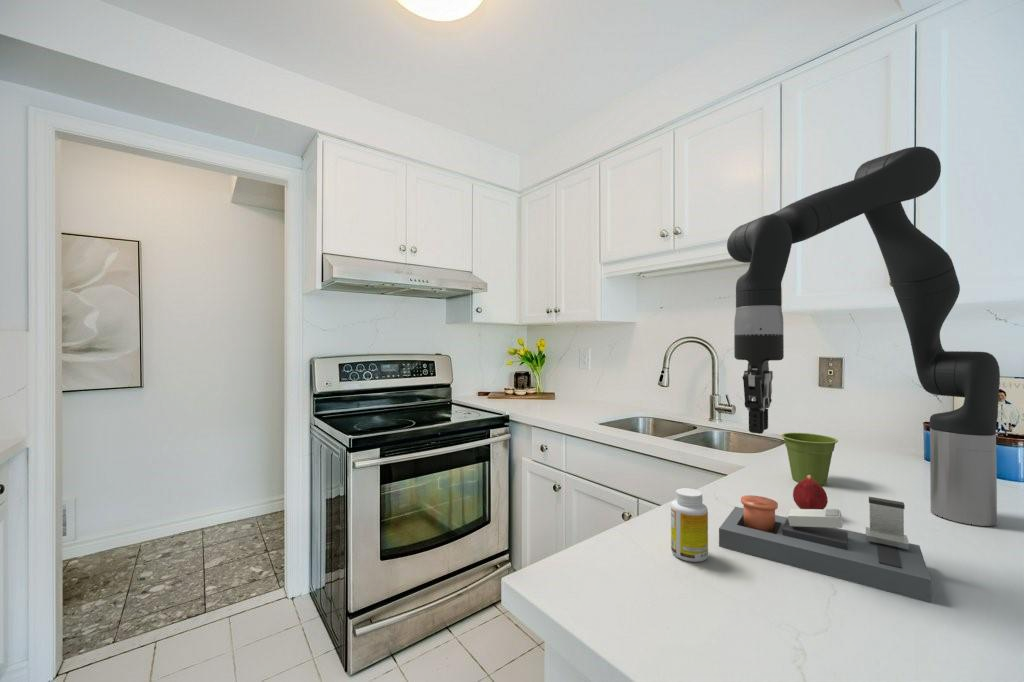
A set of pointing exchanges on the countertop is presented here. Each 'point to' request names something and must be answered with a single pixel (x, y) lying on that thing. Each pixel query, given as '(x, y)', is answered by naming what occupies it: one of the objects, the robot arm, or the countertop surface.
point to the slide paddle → (887, 523)
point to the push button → (759, 512)
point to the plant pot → (809, 455)
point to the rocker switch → (815, 518)
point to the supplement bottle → (689, 526)
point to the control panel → (832, 554)
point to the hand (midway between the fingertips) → (758, 430)
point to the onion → (810, 494)
